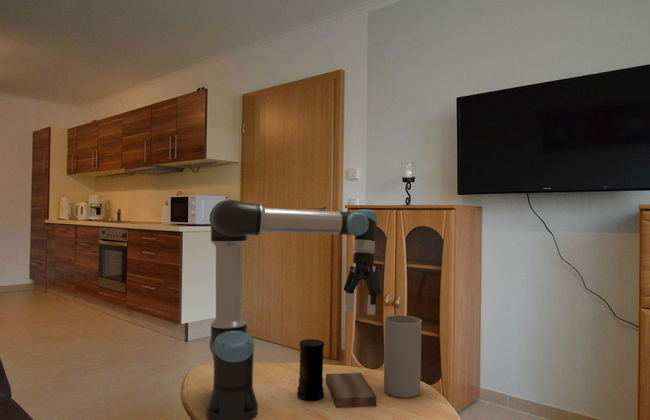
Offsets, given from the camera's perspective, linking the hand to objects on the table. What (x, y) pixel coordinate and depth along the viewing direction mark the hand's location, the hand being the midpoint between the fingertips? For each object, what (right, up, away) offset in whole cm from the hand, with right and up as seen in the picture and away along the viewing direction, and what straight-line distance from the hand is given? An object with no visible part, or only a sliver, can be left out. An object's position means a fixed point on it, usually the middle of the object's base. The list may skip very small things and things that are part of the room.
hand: (359, 313), depth 160 cm
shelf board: (-4, -26, -5) cm, 27 cm away
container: (-17, -26, -8) cm, 32 cm away
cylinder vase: (+14, -27, -2) cm, 31 cm away
